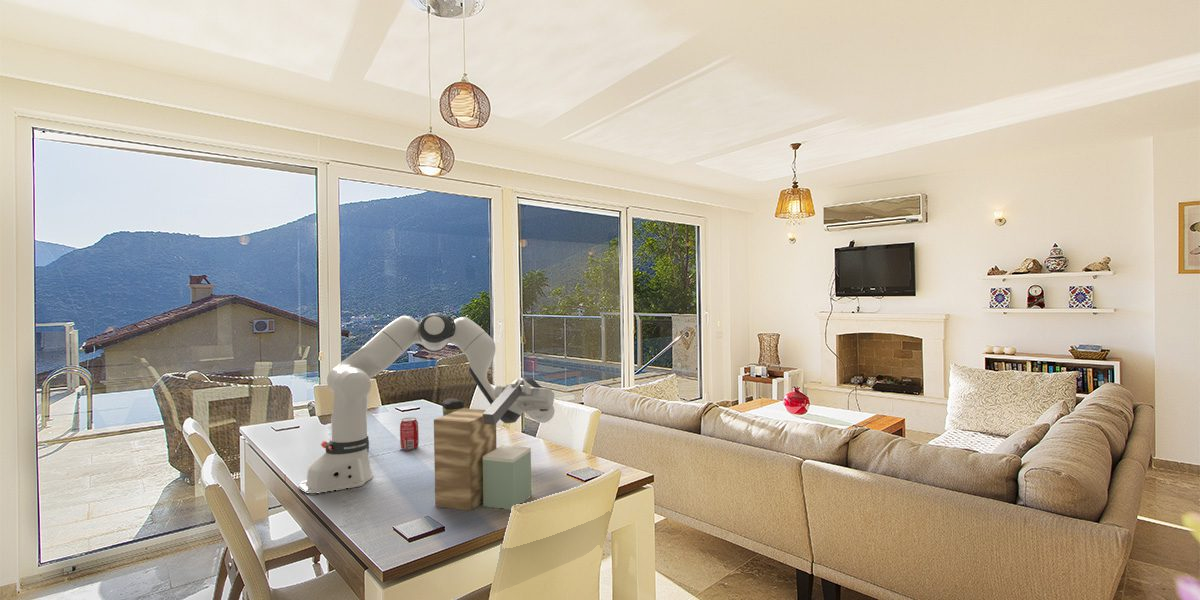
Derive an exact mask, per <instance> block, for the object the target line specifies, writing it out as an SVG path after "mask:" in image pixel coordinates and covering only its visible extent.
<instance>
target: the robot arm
mask: <svg viewBox="0 0 1200 600" xmlns="http://www.w3.org/2000/svg"><path fill="white" fill-rule="evenodd" d="M448 344H451V345H454V346H456V347H457V348H458V349H459V350H460V351H461V352H462V353H463V354H464V355H465V356H466V358H467V360H468V363H469V366H468V371H469V374H470V376H471V378H472V379H473V381H474V383H475V384H476V386H478V389H480V391H481V393H482V394H483V395H484V397H485V398H486V401H487V402H488V403H489V404H490V405H491V404H492V403H493V402H494V401H495V400H496V399H497V397H498V396H499V395H500V394H501V393H502V392H503V391H504V390H505V389H506V387H507V386H508V385H509V384H510V383H509V384H506V385H496V386H495V387H494V388H493V386H492V384H491V383H490V381H489V379H488V372H489V370H490V369H489V368H490V366H491V364H492V362H493V360H494V357H495V354H496V343H495V341H494V339H493V338H492V337H491V336H490V335H489V333H487V332H486V331H485V330H484V329H483V328H482V327H481V326H480V325H479V324H477V323H476V322H475V321H473V320H472V319H470V318H469V317H467V316H460V317H458V318H457V317H456V319H454V320H453V318H452V317H448V316H445V315H443V314H440V313H429V314H426V315H425V316H424V317H423V318H422V319H421V320H420V321H417V320H416V319H415V318H413V317H411V316H409V315H401V316H399V317H397V318H395V319H394V320H393V321H391V322H389V323H388V324H387V325H386V326H384V327H383V328H382V329H381V330H380V331H379V332H378V333H377V334H376V335H374V336H373V337H372V338H371V339H370V340H369V341H367V342H366V343H365V344H364V345H362V347H360V348H359V349H357V350H356V351H355V352H353V353H352V354H351V355H349V356H348V357H347V358H345V359H344V360H342V361H341V362H340V363H338V364H336V366H334V367H333V368H331V370H330V371H329V372H328V373H327V377H326V384H327V387H328V388H329V390H330V391H331V392H332V393H333V404H332V405H333V407H332V413H331V420H330V421H331V422H330V423H331V429H330V430H331V440H329V441H328V442H327V441H326V440H324V441H322V442H321V443H320V446H321V447H322V448H323V449H325V453H323V454H322V455H321V456H320V457H318V458H317V459H316V460H315V461H314V462H313V463H311V465H310V466H309V467H308V470H307V473H306V479H304V480H302V481H301V482H300V483H299V485H298V487H299V486H300V488H301V489H302V490H304V491H306V492H309V493H317V492H325V493H327V492H326V491H331V492H334V490H336V491H340V490H341V491H342V490H347V489H346V488H348V489H352V488H358V487H363V485H364V484H365V483H367V482H369V481H371V480H372V479H373V477H374V474H373V472H372V467H371V465H370V464H371V463H370V459H369V450H370V440H369V436H368V419H367V418H368V417H367V416H368V414H367V413H368V406H369V398H370V392H371V388H372V382H371V380H372V378H374V377H376V375H377V376H378V374H380V373H381V372H383V371H385V370H387V369H388V368H389V367H390V366H391V365H393V363H394V362H395V361H396V360H397V359H398V358H399V357H401V356H402V355H403V354H404V353H405V352H406V351H407V350H408V349H409V348H410V347H411V346H413V345H416V346H417V347H420V348H421V349H424V350H425V351H428V352H431V353H438V352H440V351H443V350H444V349H445V348H446V347H447V346H448ZM518 380H524V385H520V386H519V390H520V391H521V392H522V393H521V394H520V396H519V397H518V398H517V399H516V400H515V402H514V403H513V404H512V405H511V406H510V408H509V409H508V410H507V411H506V412H505V414H504V415H503V416H502V417H501V418H500V420H499V421H501V422H502V423H504V424H513V423H516V422H517V421H518V420H519V418H520V417H522V414H523V413H525V414H526V415H528V416H529V417H530V418H531V419H532V420H534V421H536V422H538V423H543V424H545V423H548V422H549V421H551V420H552V419H553V418H554V416H555V407H554V402H555V392H554V391H552V389H550V388H548V387H542V386H541V385H540V384H538V382H537V381H536V380H535V379H533V378H532V377H530V376H522V377H520V378H519V379H518ZM300 488H299V489H300Z"/></svg>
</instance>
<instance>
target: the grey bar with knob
mask: <svg viewBox="0 0 1200 600" xmlns="http://www.w3.org/2000/svg"><path fill="white" fill-rule="evenodd" d="M520 385H524V380H519V379H513V380H511V382H510V383H509V385H508V386H507V387H506V389H505V390H504V391H503V392H502V393H501V394H500V395H499V396H498V397H497V399H496V400H495V401H494V402H493V403H492V404H490V405H489V406H488V407H487V409H485V410H486V411H485V412H484V413H483V418H484V423H485V424H490V425H495V424H496V425H497V423H498V422H499V421H501V420H500V418H501V417H502V416H503V415H504V414H505V412H506V411H507V410H508V409H509V408H510V406H511V405H512V404H513V403H514V402H515V400H516V399H517V398H518V397H519V396H520V394H521V393H522V392H521V391H520V390H519V386H520Z"/></svg>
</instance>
